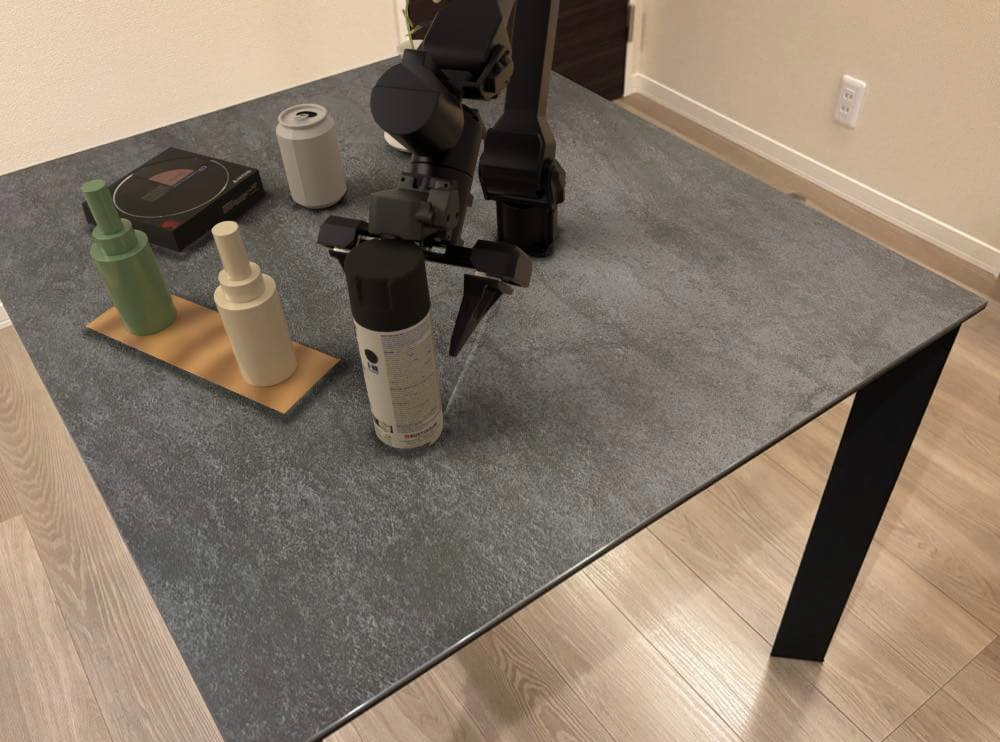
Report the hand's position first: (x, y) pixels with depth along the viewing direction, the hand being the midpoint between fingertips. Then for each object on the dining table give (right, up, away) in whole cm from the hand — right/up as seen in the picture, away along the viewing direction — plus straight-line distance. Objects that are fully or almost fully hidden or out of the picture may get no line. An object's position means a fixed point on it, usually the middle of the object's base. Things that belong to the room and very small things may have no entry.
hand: (404, 346), depth 74 cm
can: (-14, +23, +39) cm, 47 cm away
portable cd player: (-33, +21, +39) cm, 55 cm away
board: (-23, +1, +17) cm, 29 cm away
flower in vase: (0, +34, +49) cm, 59 cm away
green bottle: (-30, +5, +20) cm, 37 cm away
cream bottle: (-15, -1, +13) cm, 20 cm away
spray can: (0, -8, +6) cm, 10 cm away
